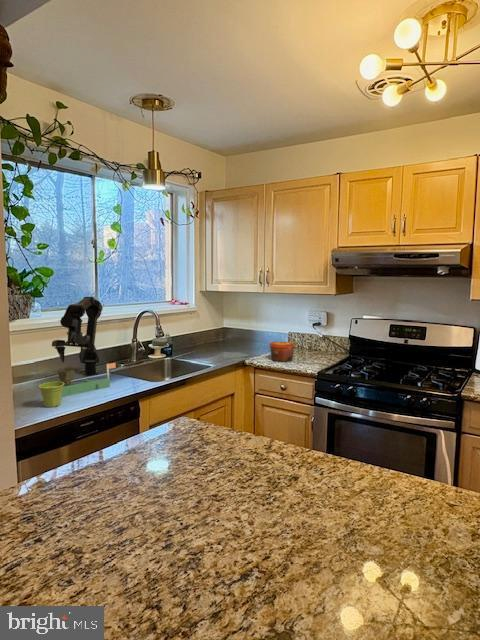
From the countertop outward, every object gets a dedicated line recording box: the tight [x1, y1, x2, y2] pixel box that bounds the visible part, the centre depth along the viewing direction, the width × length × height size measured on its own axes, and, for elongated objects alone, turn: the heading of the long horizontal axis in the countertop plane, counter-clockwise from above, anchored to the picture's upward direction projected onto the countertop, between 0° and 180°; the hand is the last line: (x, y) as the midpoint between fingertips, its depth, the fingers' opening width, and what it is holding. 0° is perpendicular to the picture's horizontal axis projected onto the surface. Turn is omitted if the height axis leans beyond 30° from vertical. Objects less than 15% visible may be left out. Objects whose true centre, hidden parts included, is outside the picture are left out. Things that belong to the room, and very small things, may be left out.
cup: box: [57, 366, 75, 386], centre depth 200 cm, size 8×7×8 cm
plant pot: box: [38, 381, 65, 408], centre depth 169 cm, size 9×9×9 cm
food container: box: [269, 340, 296, 363], centre depth 258 cm, size 16×16×11 cm
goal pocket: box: [62, 362, 117, 397], centre depth 193 cm, size 12×30×11 cm, turn 135°
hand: (72, 362), depth 198 cm, fingers open, 9 cm apart
